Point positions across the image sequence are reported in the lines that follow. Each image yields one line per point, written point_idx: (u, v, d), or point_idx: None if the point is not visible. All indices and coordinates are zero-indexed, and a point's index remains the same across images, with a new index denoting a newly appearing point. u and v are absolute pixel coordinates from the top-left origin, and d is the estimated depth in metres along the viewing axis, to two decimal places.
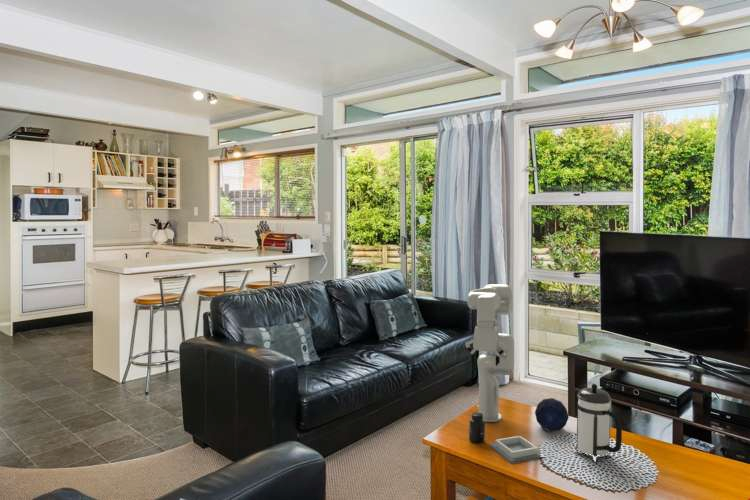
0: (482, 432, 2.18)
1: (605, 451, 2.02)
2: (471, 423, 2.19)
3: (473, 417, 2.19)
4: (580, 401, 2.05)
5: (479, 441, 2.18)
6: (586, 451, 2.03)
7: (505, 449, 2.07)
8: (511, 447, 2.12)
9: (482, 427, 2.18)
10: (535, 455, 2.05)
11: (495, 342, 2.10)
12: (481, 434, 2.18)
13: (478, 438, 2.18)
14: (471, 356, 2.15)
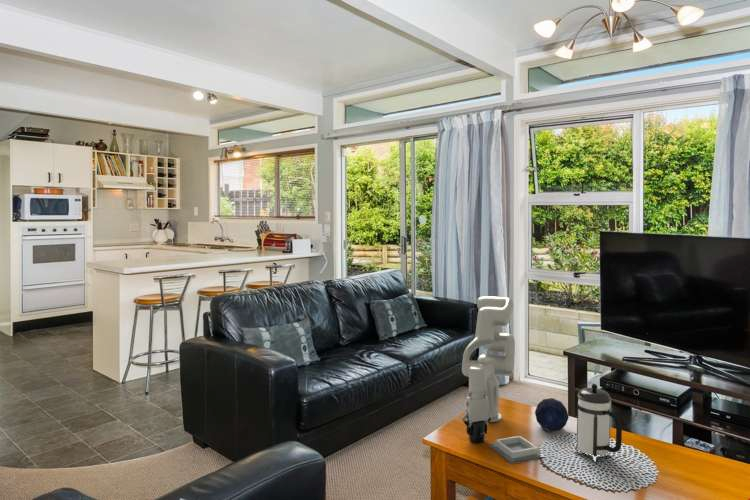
0: (482, 432, 2.18)
1: (605, 451, 2.02)
2: None
3: None
4: (580, 401, 2.05)
5: (479, 441, 2.18)
6: (586, 451, 2.03)
7: (505, 449, 2.07)
8: (511, 447, 2.12)
9: (482, 427, 2.18)
10: (535, 455, 2.05)
11: None
12: (481, 434, 2.18)
13: (478, 438, 2.18)
14: None
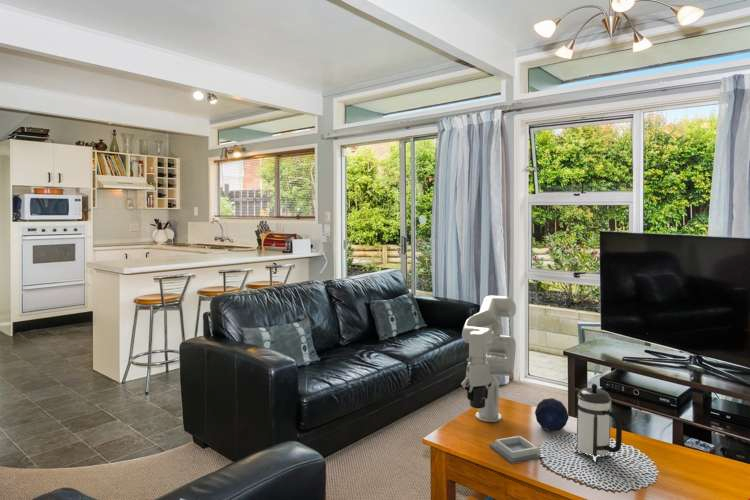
0: (482, 397, 2.18)
1: (605, 451, 2.02)
2: None
3: None
4: (580, 401, 2.05)
5: (480, 406, 2.17)
6: (586, 451, 2.03)
7: (505, 449, 2.07)
8: (511, 447, 2.12)
9: (483, 392, 2.18)
10: (535, 455, 2.05)
11: None
12: (482, 399, 2.18)
13: (479, 403, 2.17)
14: None
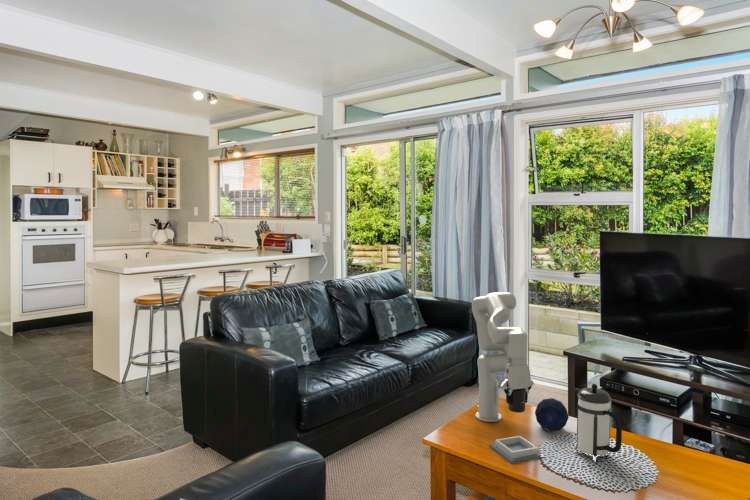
0: (522, 401, 2.06)
1: (605, 451, 2.02)
2: None
3: None
4: (580, 401, 2.05)
5: (520, 410, 2.06)
6: (586, 451, 2.03)
7: (505, 449, 2.07)
8: (511, 447, 2.12)
9: (523, 395, 2.06)
10: (535, 455, 2.05)
11: None
12: (522, 403, 2.06)
13: (519, 407, 2.06)
14: None
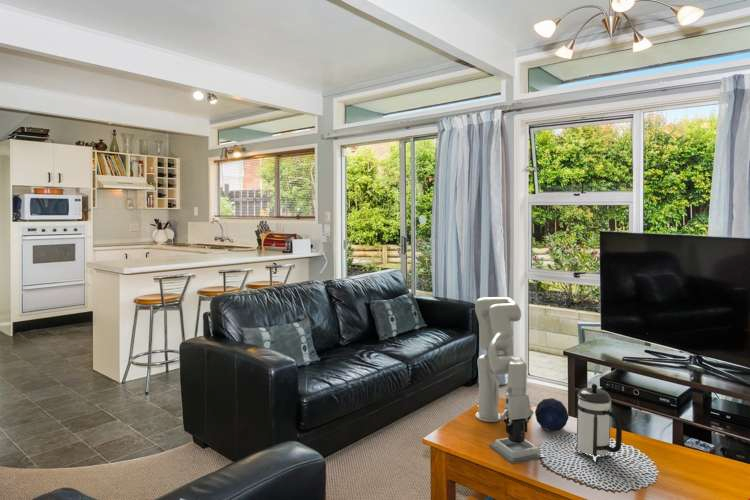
0: (522, 431, 2.07)
1: (605, 451, 2.02)
2: None
3: None
4: (580, 401, 2.05)
5: (519, 440, 2.06)
6: (586, 451, 2.03)
7: (505, 449, 2.07)
8: (511, 447, 2.12)
9: (523, 425, 2.07)
10: (535, 455, 2.05)
11: None
12: (522, 433, 2.07)
13: (519, 437, 2.06)
14: None
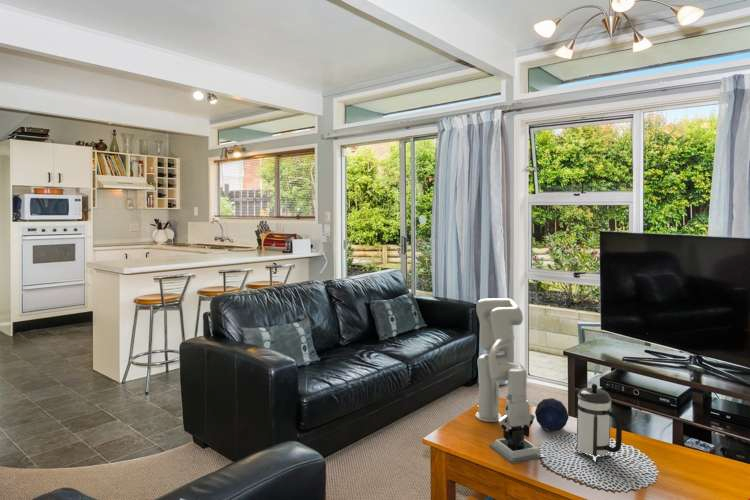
0: (521, 440, 2.07)
1: (605, 451, 2.02)
2: (510, 431, 2.08)
3: None
4: (580, 401, 2.05)
5: None
6: (586, 451, 2.03)
7: (505, 449, 2.07)
8: None
9: (522, 435, 2.07)
10: (535, 455, 2.05)
11: None
12: (521, 442, 2.07)
13: (518, 447, 2.07)
14: None
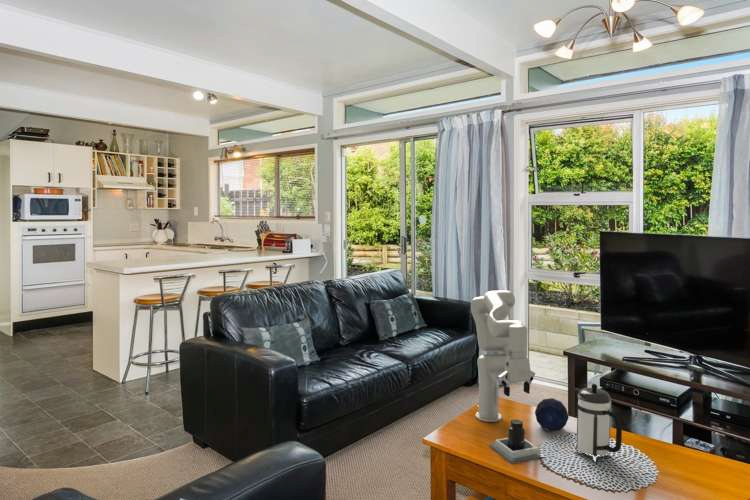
0: (522, 440, 2.07)
1: (605, 451, 2.02)
2: (510, 431, 2.08)
3: (513, 425, 2.09)
4: (580, 401, 2.05)
5: None
6: (586, 451, 2.03)
7: (505, 449, 2.07)
8: None
9: (522, 435, 2.07)
10: (535, 455, 2.05)
11: None
12: (521, 443, 2.07)
13: (518, 447, 2.07)
14: None
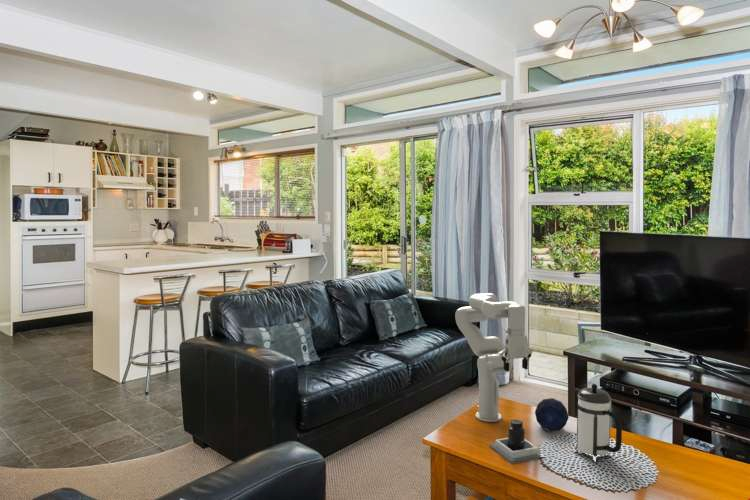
0: (522, 440, 2.07)
1: (605, 451, 2.02)
2: (510, 431, 2.08)
3: (513, 425, 2.09)
4: (580, 401, 2.05)
5: None
6: (586, 451, 2.03)
7: (505, 449, 2.07)
8: None
9: (522, 435, 2.07)
10: (535, 455, 2.05)
11: None
12: (521, 443, 2.07)
13: (518, 447, 2.07)
14: None
